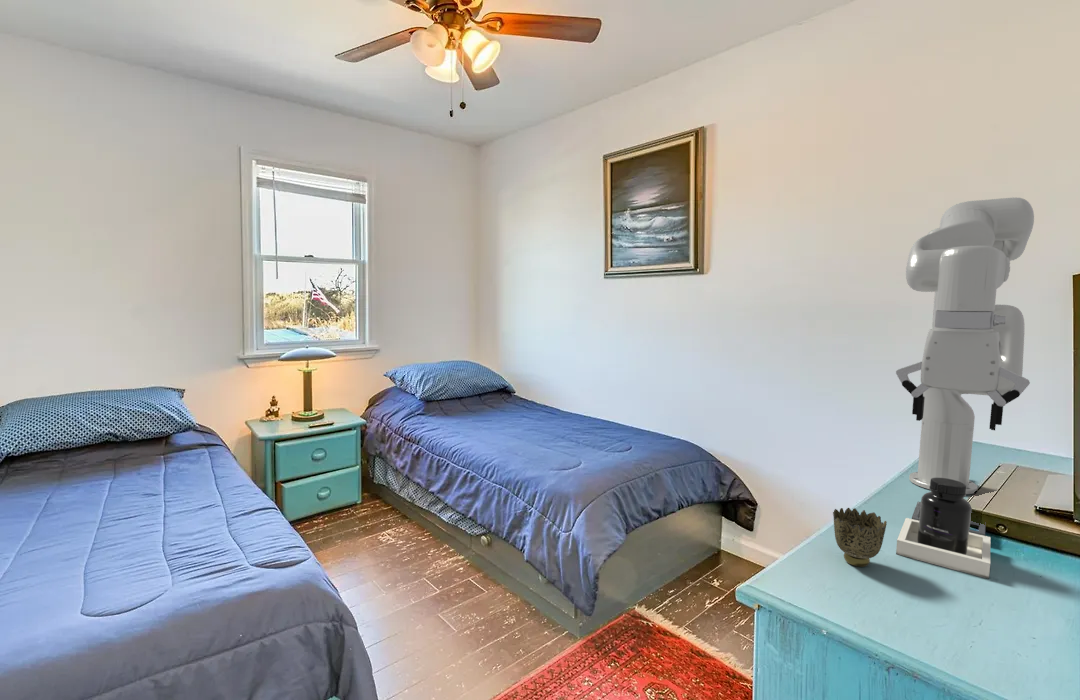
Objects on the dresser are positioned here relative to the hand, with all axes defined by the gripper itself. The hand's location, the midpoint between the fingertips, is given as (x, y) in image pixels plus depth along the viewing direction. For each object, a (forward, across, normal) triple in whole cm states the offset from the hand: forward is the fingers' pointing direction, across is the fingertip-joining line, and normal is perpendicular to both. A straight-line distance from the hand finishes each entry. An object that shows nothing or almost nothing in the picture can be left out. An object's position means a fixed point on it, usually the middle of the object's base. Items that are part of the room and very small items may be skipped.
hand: (954, 423), depth 88 cm
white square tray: (+22, 0, +1) cm, 22 cm away
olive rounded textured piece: (+22, +10, +15) cm, 29 cm away
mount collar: (+22, 0, -12) cm, 26 cm away
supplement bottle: (+22, 0, +1) cm, 22 cm away
